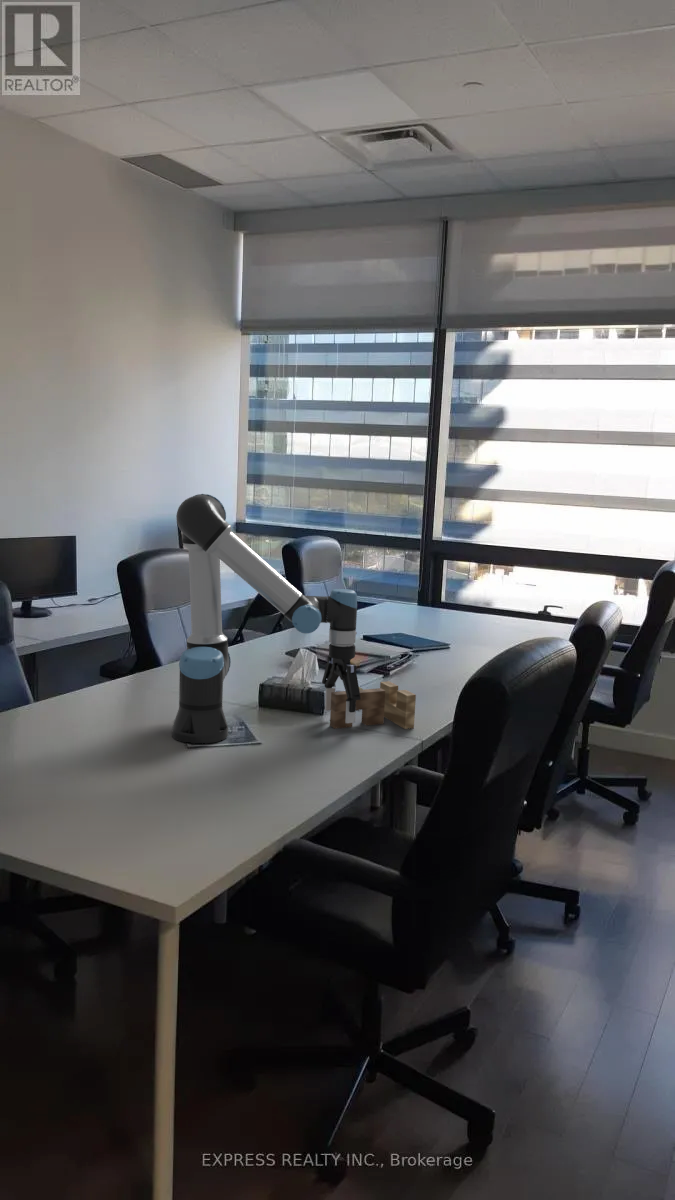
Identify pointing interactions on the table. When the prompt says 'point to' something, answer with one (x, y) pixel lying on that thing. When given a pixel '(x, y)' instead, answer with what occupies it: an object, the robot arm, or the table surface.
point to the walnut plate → (358, 707)
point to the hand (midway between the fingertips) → (339, 716)
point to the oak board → (399, 705)
